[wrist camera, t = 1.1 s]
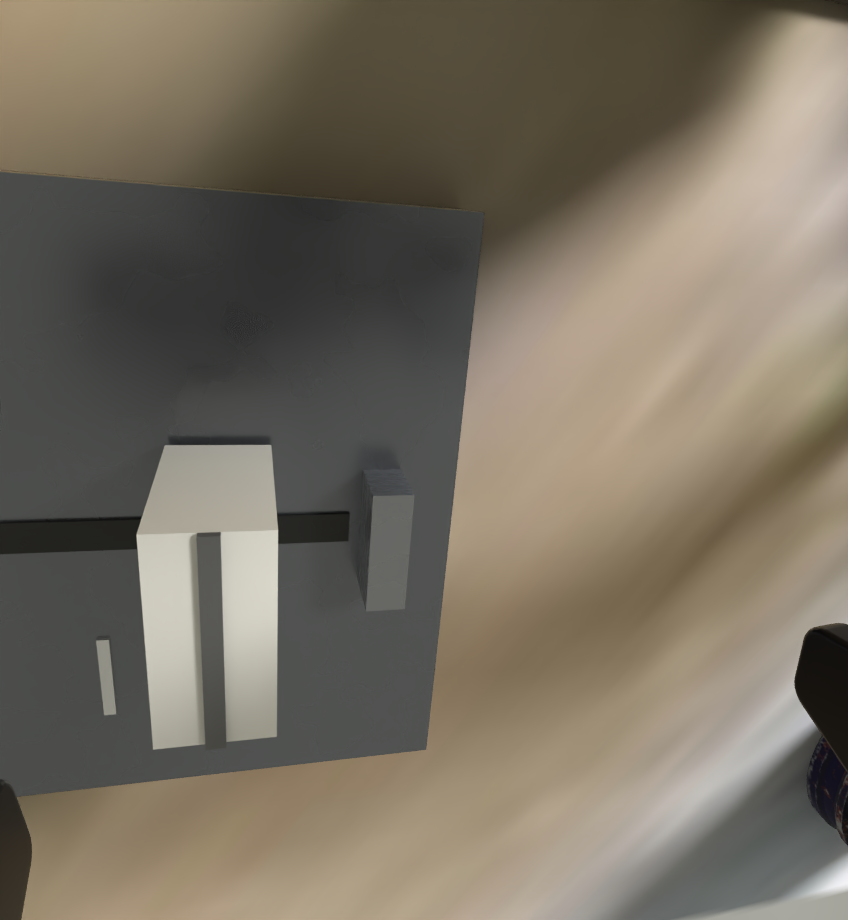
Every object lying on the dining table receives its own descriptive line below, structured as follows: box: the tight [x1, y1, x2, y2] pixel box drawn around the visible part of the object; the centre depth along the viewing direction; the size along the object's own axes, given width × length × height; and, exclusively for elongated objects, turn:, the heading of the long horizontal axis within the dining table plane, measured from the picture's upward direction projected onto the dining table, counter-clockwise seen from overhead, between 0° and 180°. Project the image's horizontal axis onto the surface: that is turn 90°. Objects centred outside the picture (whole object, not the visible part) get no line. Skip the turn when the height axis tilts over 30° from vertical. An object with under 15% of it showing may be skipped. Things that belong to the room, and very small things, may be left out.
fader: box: [136, 445, 278, 750], centre depth 15 cm, size 2×5×5 cm, turn 175°
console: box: [0, 170, 484, 797], centre depth 16 cm, size 22×16×4 cm
